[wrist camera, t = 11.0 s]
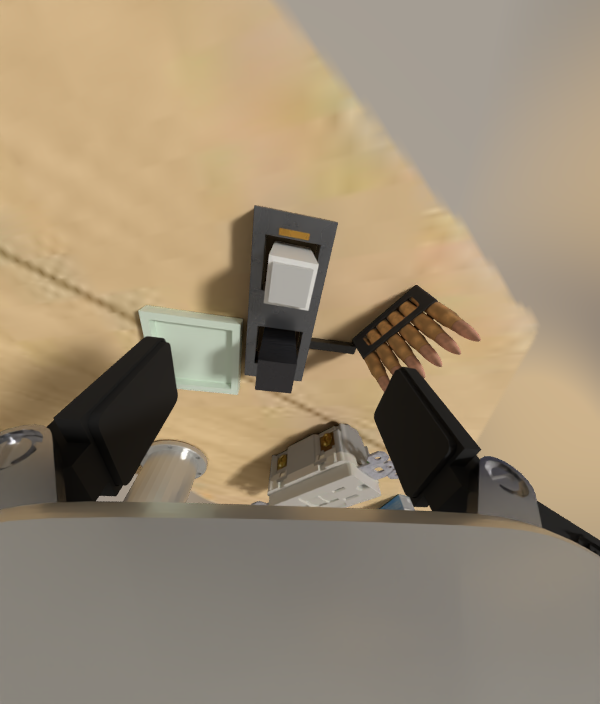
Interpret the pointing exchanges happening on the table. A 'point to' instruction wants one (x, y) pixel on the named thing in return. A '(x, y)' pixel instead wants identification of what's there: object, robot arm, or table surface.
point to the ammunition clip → (409, 334)
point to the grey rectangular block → (290, 276)
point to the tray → (199, 347)
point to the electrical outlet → (327, 471)
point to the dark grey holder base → (281, 322)
